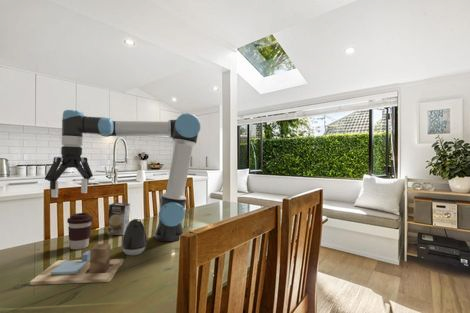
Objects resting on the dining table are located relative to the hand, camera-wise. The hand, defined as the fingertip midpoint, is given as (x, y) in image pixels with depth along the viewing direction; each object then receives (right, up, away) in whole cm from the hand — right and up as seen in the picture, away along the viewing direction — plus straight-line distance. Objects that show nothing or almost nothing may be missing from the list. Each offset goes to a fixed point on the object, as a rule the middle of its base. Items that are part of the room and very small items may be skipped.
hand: (70, 195), depth 106 cm
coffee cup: (0, -25, +6) cm, 26 cm away
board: (+16, -25, -18) cm, 35 cm away
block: (+22, -25, -17) cm, 38 cm away
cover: (+12, -23, -17) cm, 31 cm away
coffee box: (+8, -26, +27) cm, 38 cm away
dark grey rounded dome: (+27, -26, +1) cm, 38 cm away
